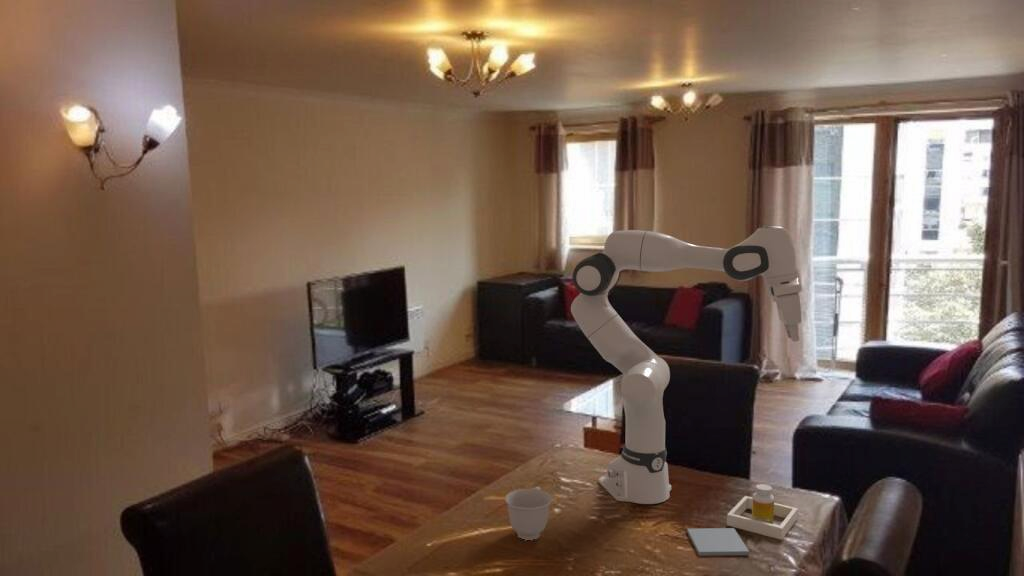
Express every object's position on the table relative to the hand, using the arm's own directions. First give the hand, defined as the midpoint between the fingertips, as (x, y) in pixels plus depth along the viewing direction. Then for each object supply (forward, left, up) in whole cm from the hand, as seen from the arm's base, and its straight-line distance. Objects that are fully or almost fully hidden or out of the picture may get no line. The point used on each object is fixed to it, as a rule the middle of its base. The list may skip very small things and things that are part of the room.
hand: (793, 339), depth 192 cm
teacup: (-22, -65, -48) cm, 84 cm away
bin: (0, -8, -48) cm, 49 cm away
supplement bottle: (0, -8, -48) cm, 49 cm away
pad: (+4, -27, -48) cm, 55 cm away
